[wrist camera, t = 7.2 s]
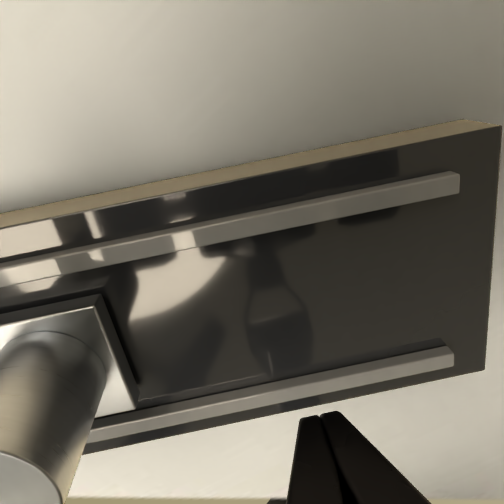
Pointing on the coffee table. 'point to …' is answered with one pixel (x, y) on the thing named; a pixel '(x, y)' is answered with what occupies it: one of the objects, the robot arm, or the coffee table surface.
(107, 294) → the slide rail base
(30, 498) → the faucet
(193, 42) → the coffee table surface
